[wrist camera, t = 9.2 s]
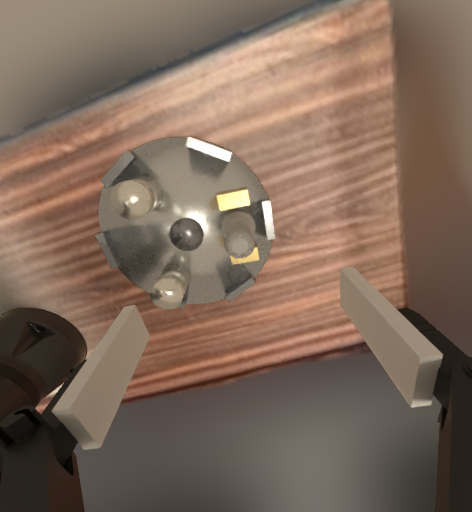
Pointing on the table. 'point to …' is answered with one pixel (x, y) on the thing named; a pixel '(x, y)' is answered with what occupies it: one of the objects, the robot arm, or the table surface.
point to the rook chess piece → (239, 232)
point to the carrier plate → (181, 221)
